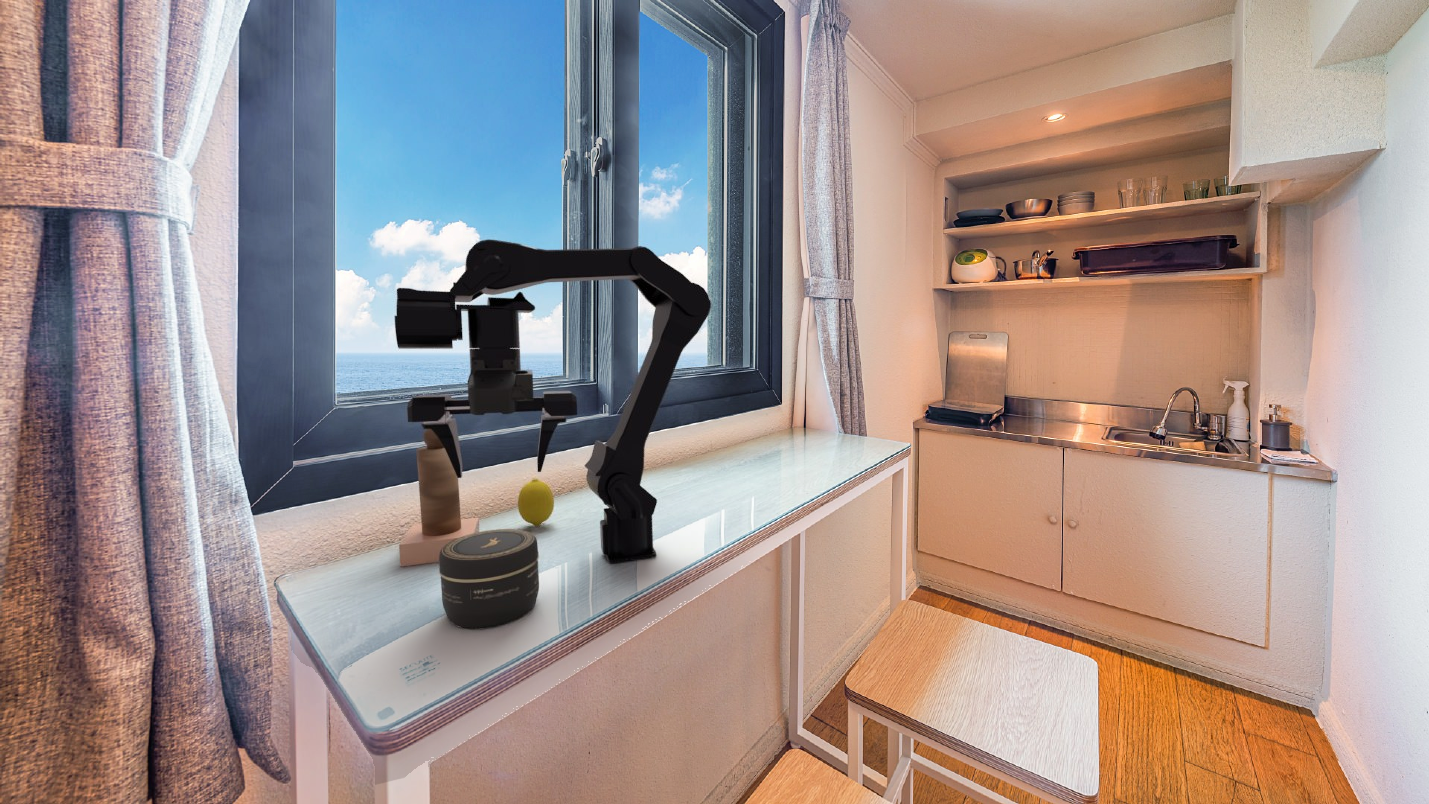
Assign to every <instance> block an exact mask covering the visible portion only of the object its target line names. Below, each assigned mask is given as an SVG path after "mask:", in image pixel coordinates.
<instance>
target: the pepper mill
mask: <svg viewBox="0 0 1429 804" xmlns="http://www.w3.org/2000/svg"><path fill="white" fill-rule="evenodd" d="M422 438H423V439H422V440H423V443H424V444H425V446H422V447H419V448H417V449H416V463H417V477H418V478H417V479H418V491H419V505H420V516H421V517H420V518H421V524H422V534H423V535H426V536H440V535H446V534H450V533H454V532H456V531H458V530H460V529H461V519H462V517H461V516H462V515H461V501H460V486H459V478H458V477H457V475H456V473H455V471H454V468H453V466H452V464H451V461H450V459H449V457H448V455H447V452H446V450H445V448H444V446H443V445H442V443H441V441H440V440H439V438H438V437H437V435H436V434H435V433H434V432H433V431H432V430H431V429H424V432H423V435H422Z"/></svg>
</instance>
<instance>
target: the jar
mask: <svg viewBox="0 0 1429 804" xmlns="http://www.w3.org/2000/svg"><path fill="white" fill-rule="evenodd" d="M538 547H539V546H538V539H537V537H536V535H535V534H533V533H532V532H530V531H527V530H524V529H515V528H513V529H512V528H501V529H498V528H497V529H490V530H483V531H479V532H477V533H473V534H469V535H466V536H463V537H460V538H457V539H455V540H453V541H451V542H449V543H447V544H446V545H445V546H444V547H443V548H442V549H441V551H440V555H439V562H438V563H439V565H438V566H439V568H438V571H439V572H438V573H439V576H440V585H441V598H442V599H441V601H442V606H443V607H442V608H443V609H444V612H445V616H446V617H447V619H448V621H449V622H450V623H452V624H453V625H454V626H456V627H458V628H462V629H467V630H485V629H487V630H488V629H492V628H496V627H501V626H504V625H507V624H510V623H513V622H515V621H517V620H519V619H521V618H522V617H524V616H526V615H527V614H528V613H530V611H531V610H532V609H533V607H534V606H535V604H536V602H537V600H538V596H539V595H538V594H539V590H540V579H539V578H540V576H539V574H540V573H539V558H540V554H539V548H538Z"/></svg>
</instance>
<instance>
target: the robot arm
mask: <svg viewBox="0 0 1429 804" xmlns="http://www.w3.org/2000/svg"><path fill="white" fill-rule="evenodd" d="M464 265H465V268H464V269H465V271H464V272H463V273H462V275H460V277H459V278H458V280H457V281H455V282H453V283H452V284H453V286H452V287H451V288H450V289H449V291H437V290H419V289H418V290H417V289H414V288H408V287H398V288H397V289H396V315H394V329H395V330H394V331H395V339H396V345H397V348H398V349H399V350H401V349H405V350H406V349H407V350H409V349H410V350H411V349H412V350H413V349H417V350H419V349H421V350H422V349H423V350H425V349H427V350H429V349H432V350H433V349H434V350H437V349H442V350H445V349H453V347H454V346H453V341H463V340H464V339H463V337H464V336H463V319H462V318H463V317H462V312H467V322H468V323H467V324H468V325H467V326H468V344H469V345H468V346H469V365H470V366H469V367H470V372H469V375H468V379H467V397H468V398H466V399H465V398H463V399H462V398H461V399H459V398H458V399H452V394H451V393H446V394H445V393H441V394H440V393H439V394H420V395H416V396H413V397H412V398H411V399H410V400H409V401H408V402H407V407H406V410H407V411H406V412H407V423H422V424H421V429H423V430H426V429H431V430H432V431H433V432H434V433H435V434H436V435H437V437H438V438H439V440H440V441H441V443H442V445H443V446H444V448H445V450H446V452H447V455H448V457H449V459H450V461H451V464H452V466H453V468H454V471H455V473H456V475H457V477H458V479H462V478H463V458H462V453H461V445H460V438H459V431H458V425H457V419H456V418H455V417H454V418H453V415H475V416H484V415H485V414H498V413H499V414H502V415H510V414H514V413H521V412H523V413H524V412H529V413H530V412H542V414H541V417H540V419H541V420H540V428H539V429H540V430H539V437H538V447H537V455H536V456H537V458H536V459H537V461H536V462H537V463H536V465H537V472H538V473H541V472H542V470H543V466H544V463H545V459H546V455H547V453H548V449H549V445H550V443H551V439H552V437H553V435H554V433H555V430H556V429H557V427H558V425H559V424H563V423H567V420H568V419H567V417H566V416H568V417H571V416H572V417H573V416H577V415H578V399H577V396H576V395H575V394H574V393H573V392H572V391H570V390H557V391H555V390H552V391H551V390H549V391H543V394H542V396H535V397H534V379H533V378H534V376H533V375H534V374H533V369H521V367H522V366H521V345H520V344H521V343H520V324H519V323H520V319H519V318H520V317H519V313H521V314H530V313H532V312H533V311H535V310H536V306H535V305H534V304H533V303H531V301H529V300H528V299H527V298H526V297H525V296H524V294H523V292H521V291H519V290H523V289H526V288H527V289H528V288H530V287H532V286H537V285H542V284H547V283H563V282H564V283H565V282H588V281H591V282H592V281H609V280H610V281H611V280H629V281H630V282H631V283H632V284H634V285H635V287H636V288H637V290H638V291H639V293H641V295H642V296H643V297H644V299H645V300H646V301H647V302H648V303H650V304H651V306H652V307H654V312H653V313H654V314H653V318H652V328H651V331H652V332H651V335H652V337H651V342H650V344H649V348H648V349H647V353H645V356H644V359H643V361H642V363H641V367H640V370H639V372H638V374H637V377H636V379H635V381H634V384H633V387H632V389H631V392H630V394H629V397H628V399H627V401H626V404H625V406H624V409H623V410H622V413H621V417H620V418H619V421H618V423H617V426H616V428H615V431H614V433H612V435H611V436H610V437H609V439H608V440H607V441H606V442H605V443H604V442H602V441H600V440H598V439H597V440H595V442H594V445H593V447H592V452H591V456H590V457H589V460H587V462H586V463H585V464H584V467H585V468H586V469H587V472H586V481H587V485H588V488H589V489H590V490H591V491H592V492H593V493H594V494H595V495H596V496H597V497H598V498H599V499H600V500H601V501H602V503H603V504H604V505H605V506H606V508H603V519H601V520H600V521H599V529H600V530H599V532H600V533H599V534H600V535H599V536H600V548H601V549H600V550H601V552H602V554H603V555H605V556H606V559H607V561H608V563H610V564H611V563H613V564H614V563H619V562H625V561H627V562H628V561H634V560H642V559H647V558H653V557H656V556H657V551H656V550H655V548H654V539H653V537H654V535H653V534H654V532H653V515H654V513H655V510H656V506H657V503H658V500H657V498H656V497H655V496H654V495H652V494H651V493H650V492H649V491H647V489H646V488H644V487H642V485H641V483H642V477H643V473H644V469H645V447H646V442H647V439H648V437H649V435H650V432H651V430H652V427H653V425H654V422H655V420H656V417H657V414H658V412H659V411H660V410H659V409H660V407H661V405H662V402H663V400H664V397H665V395H666V392H667V389H668V387H669V384H670V383H671V379H672V377H673V375H674V372H675V369H676V367H677V365H678V362H679V360H680V356H681V355H682V352H683V351H684V349H685V348H686V347H687V346H688V345H689V343H690V342H691V341H692V340H693V339H694V338H695V336H696V335H697V334H698V333H699V331H700V330H701V328H702V326H703V324H704V323H705V321H706V320H707V318H708V317H709V316H710V315H709V314H710V312H711V307H712V300H711V299H710V297H709V294H708V292H707V291H706V289H705V288H704V287H702V286H701V285H700V284H698V283H695V282H692V281H691V280H690V279H688V278H687V277H686V276H685V274H683V273H682V272H680V271H679V270H677V269H676V268H674V267H673V266H671V265H670V264H668V263H666V262H665V261H663V260H662V259H661V258H660V257H658V255H656V254H655V253H654V251H653V250H651V249H650V248H648V247H646V246H642V245H639V246H635V247H632V248H631V247H630V248H629V247H627V248H625V247H623V248H621V247H620V248H580V249H579V248H574V249H573V248H572V249H569V248H567V249H543V248H537V247H533V246H530V245H526V244H523V243H517V242H513V241H512V242H511V241H504V240H499V239H498V240H497V239H484V240H480V241H478V242H476V243H474V244H473V246H472V247H471V248H470V249H469V250H468V253H467V255H466V258H465V264H464ZM513 291H519V292H518V293H516V294H515V296H514V297H492V296H496V295H500V294H501V295H502V294H504V293H508V292H513ZM484 294H485V295H491V297H487V303H486V304H456V303H470V302H473V301H474V300H476V299H477V298H479V297H481V296H482V295H484ZM451 417H452V418H451Z"/></svg>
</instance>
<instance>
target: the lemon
mask: <svg viewBox="0 0 1429 804" xmlns="http://www.w3.org/2000/svg"><path fill="white" fill-rule="evenodd" d="M554 499H555V498H554V494H553V491H552V488H551V487H550V486H549V485H548V483H546V482H544V481H542V480H539V479H538V478H533V479H532V480H531V481H529V482H527V483H526V484H524V485H523V486H522V487H521V489H520V491H519V494H518V499H517V507H518V513H519V515H520V517H521V518H522V519H523V520H524V521H525V522H527V523H528V524H532V525H533V526H534V527H536V528H538V527H540V526H541V525H542V524H543V523H544V522H546V521H547V520H548V519H550V517H551V515H552V513H553V511H554V506H555V500H554Z"/></svg>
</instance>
